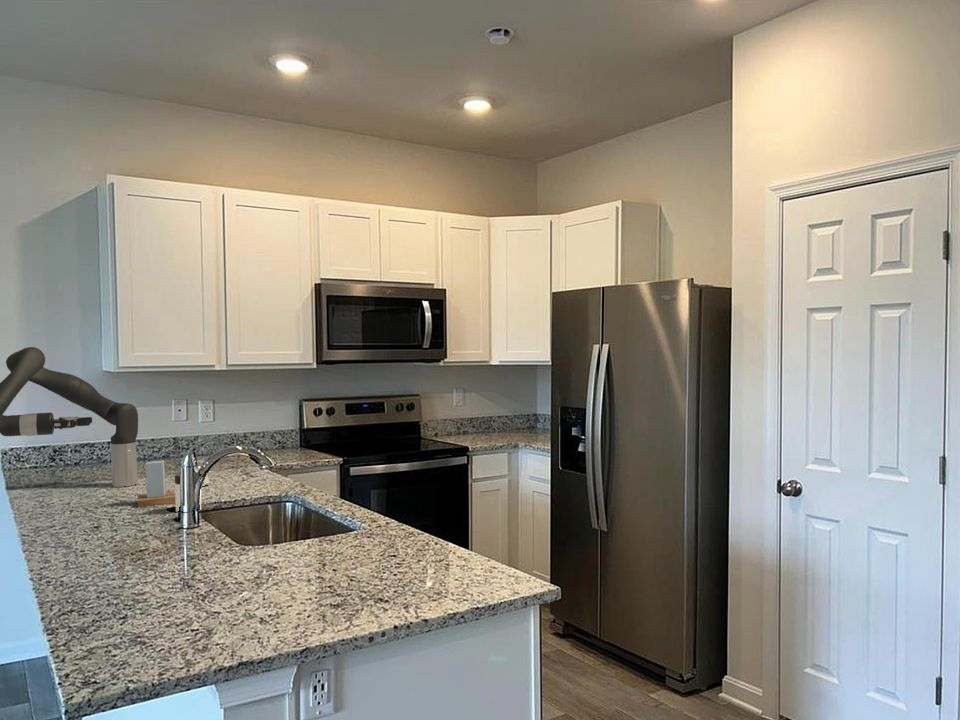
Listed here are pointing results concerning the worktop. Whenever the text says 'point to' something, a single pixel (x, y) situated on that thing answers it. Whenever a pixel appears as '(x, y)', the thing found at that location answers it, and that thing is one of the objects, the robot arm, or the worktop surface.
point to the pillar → (155, 479)
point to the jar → (177, 492)
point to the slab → (156, 500)
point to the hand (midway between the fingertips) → (90, 421)
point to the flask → (206, 475)
